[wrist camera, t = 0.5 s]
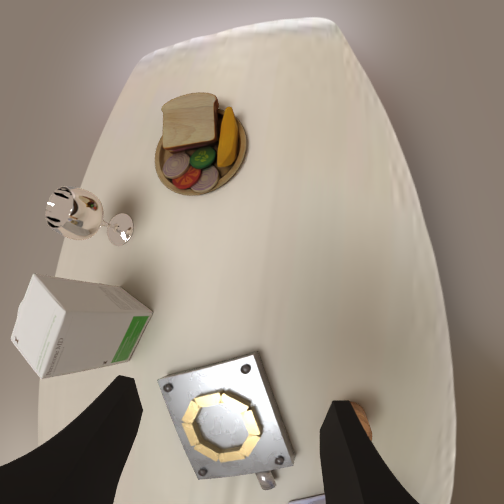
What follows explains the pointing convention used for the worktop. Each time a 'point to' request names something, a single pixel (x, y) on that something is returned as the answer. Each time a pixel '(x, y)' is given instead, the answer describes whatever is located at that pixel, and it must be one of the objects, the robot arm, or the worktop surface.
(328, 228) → the worktop surface
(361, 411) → the copper spout can
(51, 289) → the skincare box
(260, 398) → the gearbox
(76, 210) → the wineglass
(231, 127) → the toy sandwich meal
